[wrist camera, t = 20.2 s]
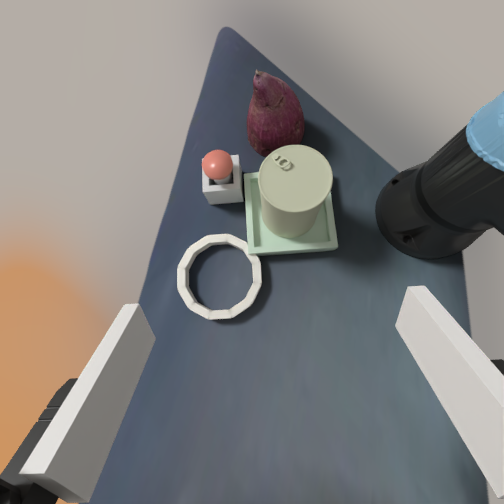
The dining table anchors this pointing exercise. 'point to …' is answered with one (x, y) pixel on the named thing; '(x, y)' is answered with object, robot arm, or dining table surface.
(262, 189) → the can
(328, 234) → the tray
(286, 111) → the vegetable
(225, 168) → the button
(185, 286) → the socket ring
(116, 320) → the robot arm
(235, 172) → the button post
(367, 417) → the dining table surface
